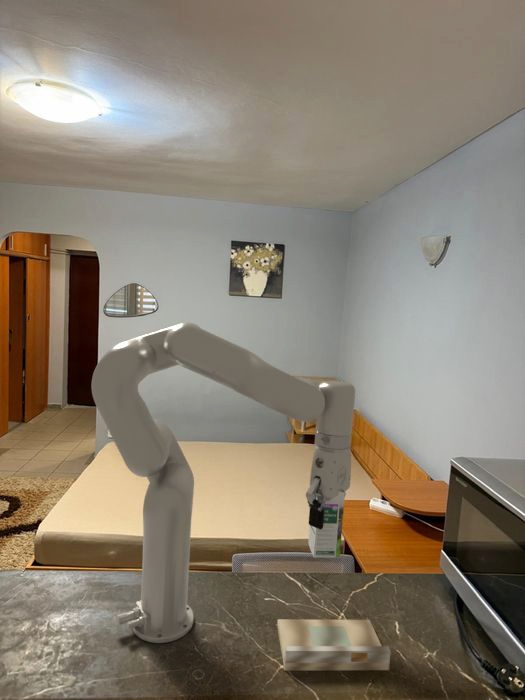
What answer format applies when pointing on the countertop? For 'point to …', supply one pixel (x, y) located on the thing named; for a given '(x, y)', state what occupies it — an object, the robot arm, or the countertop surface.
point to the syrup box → (328, 528)
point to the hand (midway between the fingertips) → (326, 519)
